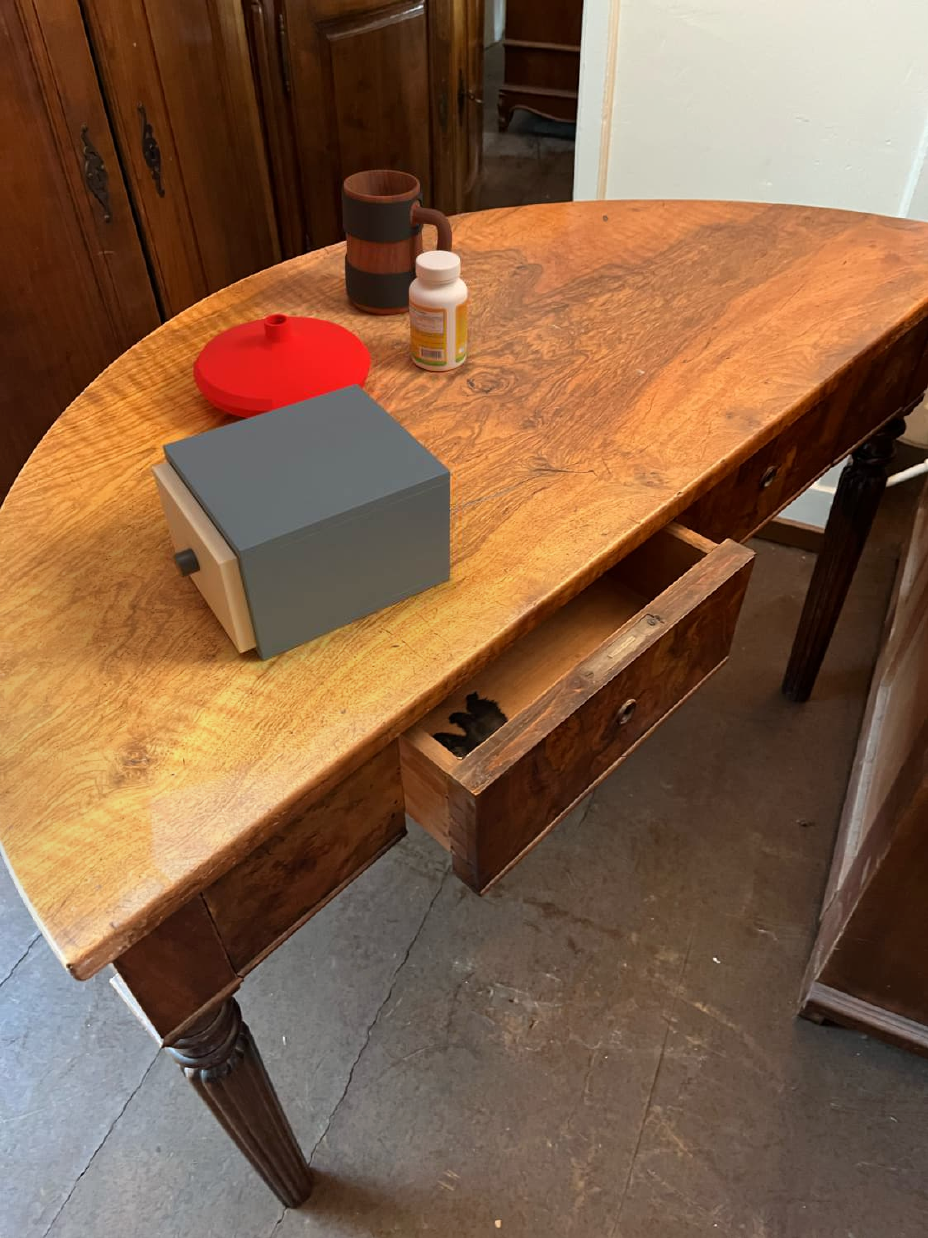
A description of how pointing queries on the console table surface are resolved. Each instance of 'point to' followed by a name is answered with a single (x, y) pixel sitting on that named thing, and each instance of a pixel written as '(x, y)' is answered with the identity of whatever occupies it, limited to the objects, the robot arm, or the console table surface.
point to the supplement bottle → (438, 312)
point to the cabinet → (321, 512)
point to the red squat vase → (278, 364)
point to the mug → (385, 238)
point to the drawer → (205, 556)
